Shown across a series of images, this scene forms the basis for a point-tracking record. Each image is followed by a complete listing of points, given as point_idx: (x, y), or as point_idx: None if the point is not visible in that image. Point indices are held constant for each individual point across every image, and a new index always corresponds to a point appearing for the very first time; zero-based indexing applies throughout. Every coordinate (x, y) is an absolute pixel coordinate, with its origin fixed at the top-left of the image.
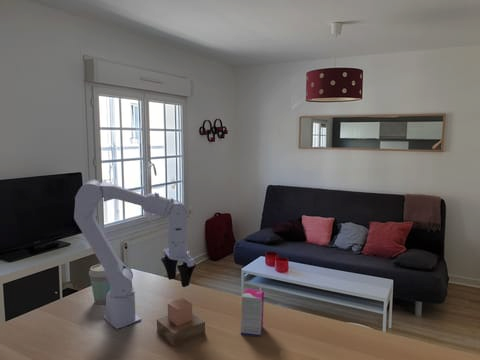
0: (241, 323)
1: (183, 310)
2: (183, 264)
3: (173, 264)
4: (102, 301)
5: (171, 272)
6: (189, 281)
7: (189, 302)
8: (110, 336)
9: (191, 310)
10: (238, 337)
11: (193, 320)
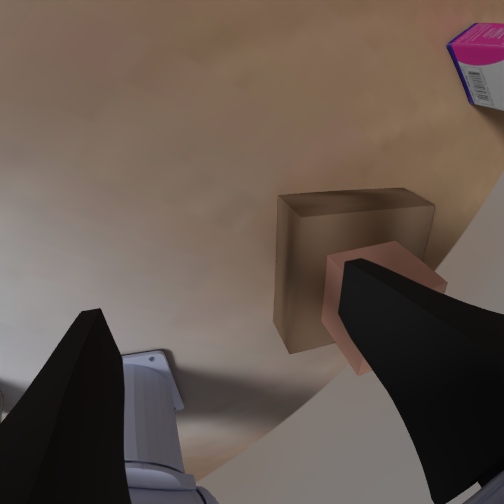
0: (500, 109)
1: None
2: (487, 476)
3: (86, 479)
4: (1, 406)
5: (107, 403)
6: (391, 274)
7: (433, 289)
8: (211, 415)
9: (424, 267)
10: (471, 120)
11: (401, 238)
